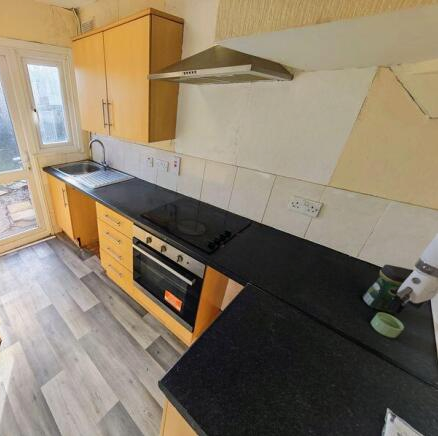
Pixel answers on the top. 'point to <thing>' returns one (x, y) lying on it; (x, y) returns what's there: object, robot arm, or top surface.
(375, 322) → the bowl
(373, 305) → the coffee jar
